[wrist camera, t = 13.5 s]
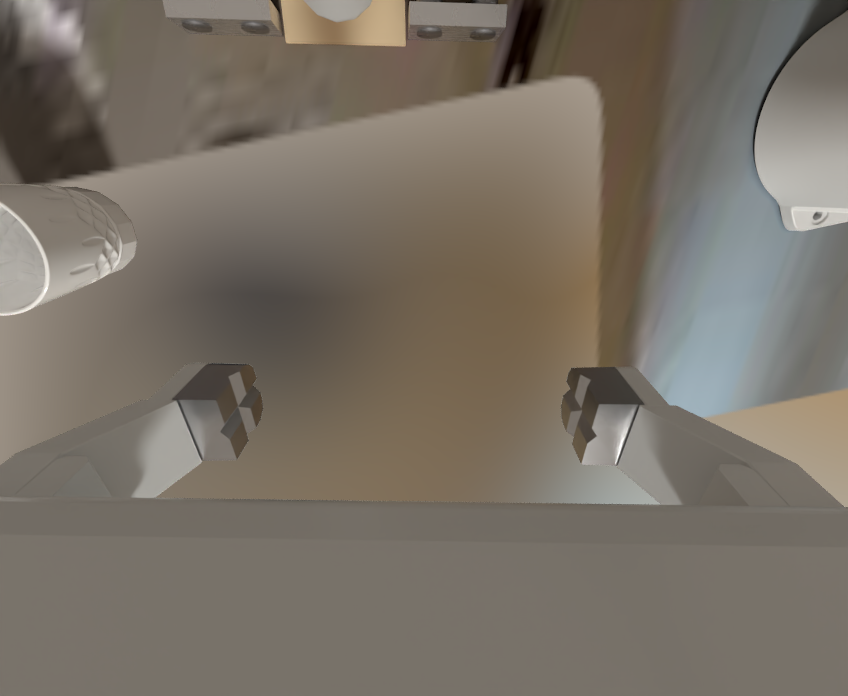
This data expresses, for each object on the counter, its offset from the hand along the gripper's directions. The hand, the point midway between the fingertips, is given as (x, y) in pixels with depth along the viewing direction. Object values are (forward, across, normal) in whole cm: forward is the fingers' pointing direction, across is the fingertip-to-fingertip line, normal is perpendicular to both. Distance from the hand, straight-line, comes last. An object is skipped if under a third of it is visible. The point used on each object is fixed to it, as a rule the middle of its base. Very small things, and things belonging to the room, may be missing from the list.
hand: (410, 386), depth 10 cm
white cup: (+24, +28, +1) cm, 37 cm away
